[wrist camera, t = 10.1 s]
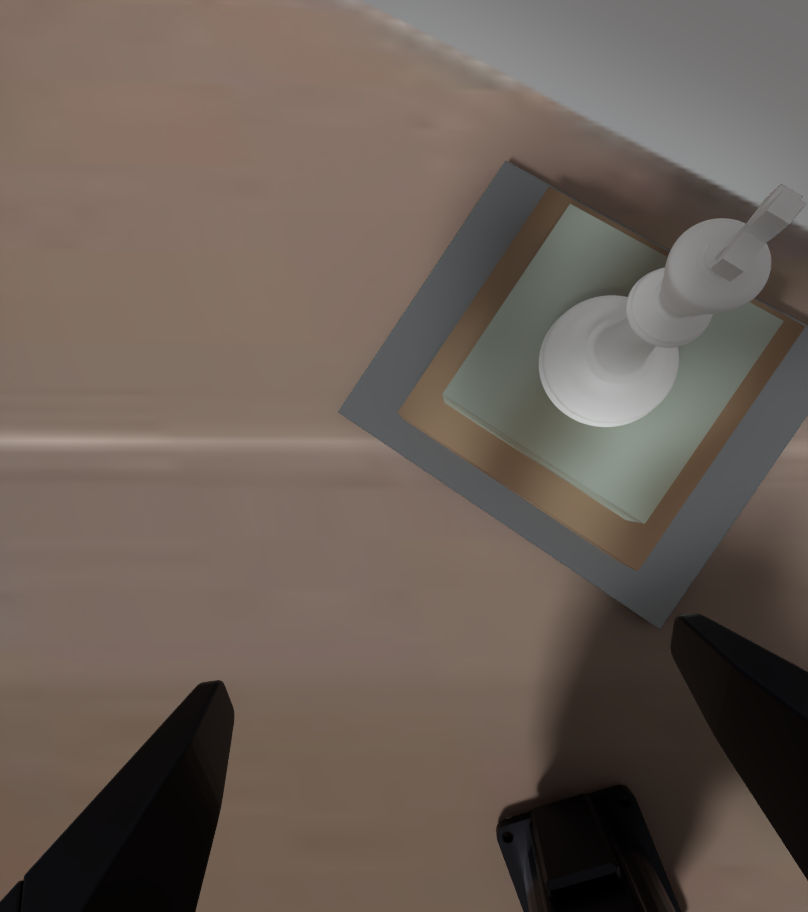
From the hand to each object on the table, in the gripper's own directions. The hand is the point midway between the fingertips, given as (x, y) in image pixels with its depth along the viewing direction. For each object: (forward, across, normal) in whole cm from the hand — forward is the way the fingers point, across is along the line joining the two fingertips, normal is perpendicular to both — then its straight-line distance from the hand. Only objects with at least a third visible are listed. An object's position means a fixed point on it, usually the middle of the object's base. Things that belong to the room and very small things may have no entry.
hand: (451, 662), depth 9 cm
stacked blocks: (+15, -8, 0) cm, 17 cm away
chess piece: (+10, -8, -3) cm, 13 cm away
